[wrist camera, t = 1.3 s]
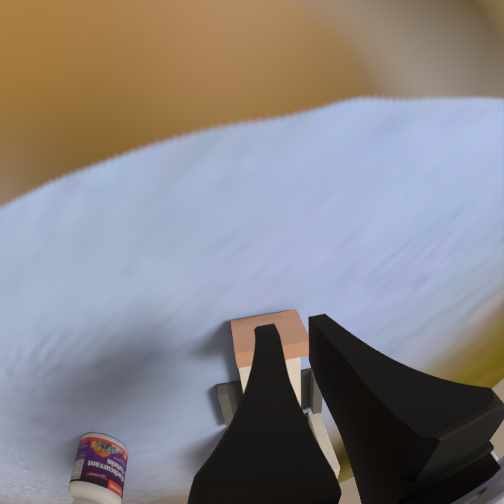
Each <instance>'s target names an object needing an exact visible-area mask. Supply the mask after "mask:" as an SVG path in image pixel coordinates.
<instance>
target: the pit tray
mask: <svg viewBox="0 0 504 504" xmlns="http://www.w3.org/2000/svg"><path fill="white" fill-rule="evenodd" d="M217 396H218V399H219V403H220V406H221V410H222V413H223V417H224V420H225V424H226V427H227V429H228V427H229V425H230V423H231V421H232V419H233V417H234V415H235V413H236V410H237V408H238V406H239V404H240V401H241V399H242V396H243V388H242V383H241V381H238V382H231V383H224V384H217ZM306 407H310V408H311V411H312V413H313V414H317V413H321V410H322V394H321V392H320V390H319V387H318V385H317V383H316V380H315V377H314V374H313V371H312V368H309V369H305V370H301V408H306Z"/></svg>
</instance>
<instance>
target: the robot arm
mask: <svg viewBox="0 0 504 504" xmlns="http://www.w3.org/2000/svg"><path fill="white" fill-rule="evenodd" d="M254 333H255V349H254V355H253V361H252V366H251V370H250V374H249V377H248V381H247V385H246V388H245V391H244V393H243V396H242V399H241V401H240V404H239V406H238V408H237V410H236V413H235V415H234V417H233V419H232V421H231V423H230V425H229V427H228V429H227V430H226V432H225V434H224V435H223V437H222V439H221V440H220V442H219V444H218V445H217V447H216V448H215V450H214V451H213V453H212V454H211V456H210V457H209V458H208V460H207V461H206V462H205V463H204V465H203V466H202V467H201V469H200V470H199V471H198V472H197V474H196V475H195V477H194V480H193V483H192V486H191V490H190V494H189V498H188V504H338V503H339V499H340V497H341V489H340V486H339V483H338V480H337V478H336V475H335V472H334V470H333V469H332V467H331V465H330V464H329V462H328V460H327V459H326V457H325V455H324V453H323V451H322V449H321V448H320V446H319V444H318V442H317V440H316V438H315V436H314V434H313V432H312V430H311V428H310V426H309V424H308V422H307V420H306V418H305V415H304V413H303V411H302V408H301V406H300V404H299V401H298V399H297V397H296V394H295V392H294V389H293V387H292V384H291V382H290V378H289V375H288V371H287V366H286V362H285V357H284V352H283V348H282V343H281V338H280V334H279V332H278V330H277V328H276V326H275V324H274V323H273V324H267V325H261V326H257V327H256V328H255V329H254ZM309 362H310V365H311V368H312V371H313V374H314V377H315V380H316V383H317V385H318V387H319V390H320V392H321V394H322V396H323V398H324V400H325V402H326V404H327V406H328V408H329V411H330V413H331V415H332V417H333V419H334V421H335V423H336V425H337V427H338V430H339V432H340V434H341V437H342V440H343V443H344V446H345V449H346V452H347V455H348V458H349V461H350V464H351V467H352V471H353V474H354V477H355V481H356V485H357V488H358V491H359V495H360V499H361V503H362V504H504V456H503V457H502V458H500V459H498V457H497V456H496V454H495V453H494V451H493V449H494V447H493V445H492V444H491V442H490V441H489V440H490V439H491V437H492V436H493V435H494V433H495V432H496V430H497V429H498V427H499V426H500V424H501V423H502V421H503V419H504V403H503V402H502V401H501V400H500V398H499V397H498V396H497V395H496V394H495V393H494V391H493V390H492V389H491V388H486V387H479V386H472V385H465V384H460V383H456V382H452V381H448V380H444V379H441V378H437V377H434V376H431V375H428V374H426V373H423V372H420V371H417V370H415V369H412V368H410V367H408V366H406V365H404V364H401V363H399V362H397V361H395V360H393V359H391V358H389V357H387V356H386V355H384V354H382V353H380V352H379V351H377V350H375V349H374V348H372V347H370V346H369V345H367V344H366V343H364V342H363V341H361V340H360V339H358V338H357V337H355V336H354V335H353V334H351V333H350V332H348V331H347V330H346V329H344V328H343V327H342V326H340V325H339V324H338V323H336V322H335V321H334V320H332V319H331V318H330V317H328V316H327V315H326V314H322V315H317V316H311V317H309Z"/></svg>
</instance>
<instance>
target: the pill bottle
mask: <svg viewBox="0 0 504 504" xmlns="http://www.w3.org/2000/svg"><path fill="white" fill-rule="evenodd" d="M127 459H128V451H127V449H126V447H125V446H124V445H123V444H122V443H121V442H119V441H118V440H116V439H114V438H112V437H110V436H107V435H104V434H99V433H88V434H86V435H84V436H83V437H82V439H81V442H80V445H79V448H78V452H77V456H76V459H75V463H74V467H73V471H72V475H71V480H70V484H69V491H70V493H71V495H72V496H73V497H74V498H75V499H76V500H74V501H73V504H121V503H122V496H123V487H124V479H125V472H126V465H127Z"/></svg>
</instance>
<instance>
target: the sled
mask: <svg viewBox="0 0 504 504" xmlns="http://www.w3.org/2000/svg"><path fill="white" fill-rule="evenodd" d="M230 321H231V329H232V336H233V344H234V351H235V357H236V363H237V368H239V372H240V378H241V383H242V388H243V393H244V391H245V388H246V385H247V381H248V377H249V374H250V370H251V366H252V361H253V355H254V349H255V333H254V329H255V328H256V327H257V326H261V325H267V324H273V323H274V324H275V326H276V328H277V330H278V332H279V334H280V338H281V343H282V348H283V352H284V357H285V362H286V366H287V371H288V375H289V378H290V382H291V384H292V387H293V389H294V392H295V394H296V397H297V399H298V401H299V404H300V406H301V368H300V357H303V356H308V355H309V336H308V334H307V331H306V329H305V327H304V325H303V323H302V321H301V319H300V316H299V314H298V312H297V310H291V311H285V312H279V313H273V314H267V315H261V316H255V317H249V318H243V319H236V320H230Z"/></svg>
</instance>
